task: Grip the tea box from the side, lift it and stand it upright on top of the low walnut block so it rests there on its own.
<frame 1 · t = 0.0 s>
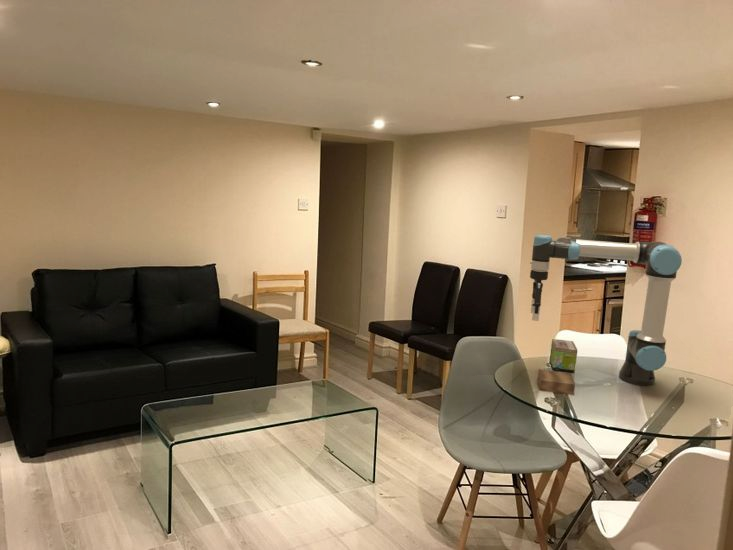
hand: (534, 316, 265), 28 cm above the table, tool pointing down, fingers open, 13 cm apart
tea box: (560, 374, 275), on the table
walnut block: (555, 387, 258), on the table
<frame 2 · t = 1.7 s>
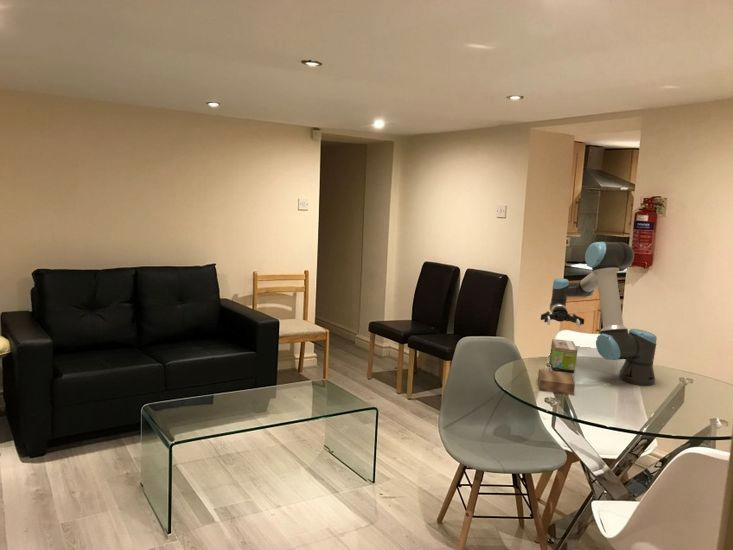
hand: (564, 323, 280), 22 cm above the table, tool horizontal, fingers open, 13 cm apart
nothing on the table moved.
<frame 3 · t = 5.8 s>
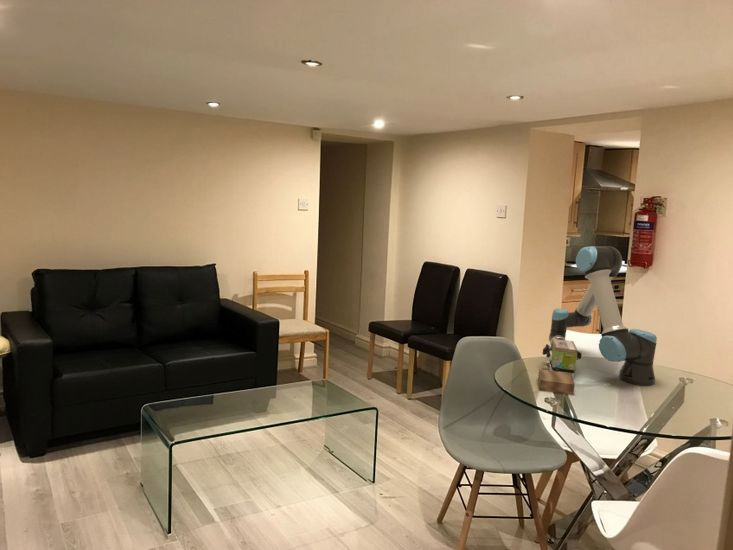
hand: (563, 359, 270), 8 cm above the table, tool horizontal, fingers closed on tea box, 10 cm apart
tea box: (560, 374, 275), on the table, touching gripper
everything else where it was.
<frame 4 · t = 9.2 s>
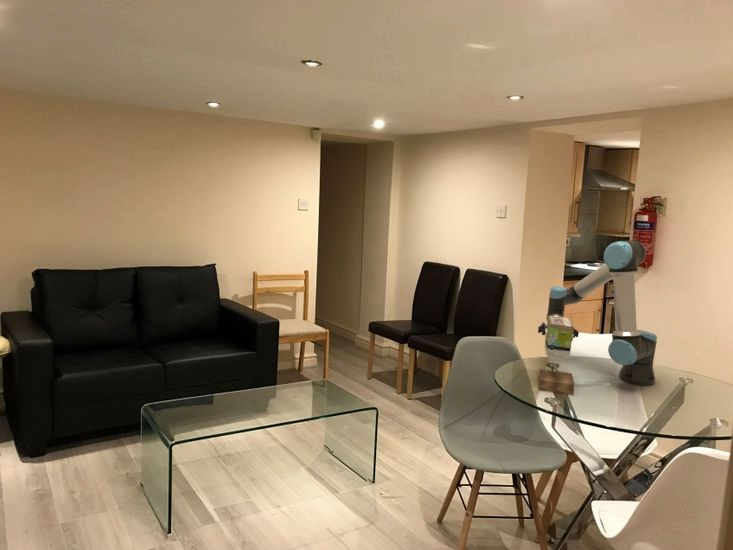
hand: (559, 336, 257), 22 cm above the table, tool horizontal, fingers closed on tea box, 10 cm apart
tea box: (556, 353, 262), point 13 cm above the table, touching gripper
everything else where it was.
when the fingers open (14 cm above the table, at t = 12.4 s): tea box drops 2 cm, resting on walnut block.
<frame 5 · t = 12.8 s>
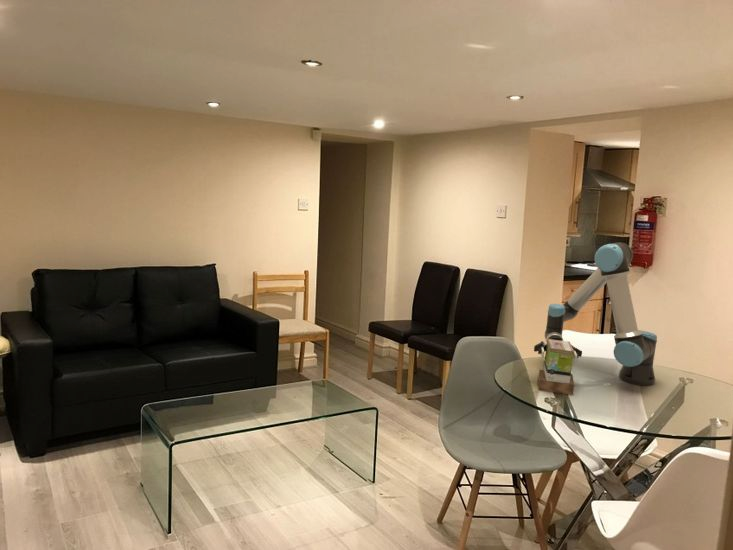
hand: (559, 356, 253), 14 cm above the table, tool horizontal, fingers open, 13 cm apart
tea box: (556, 377, 258), point 4 cm above the table, touching walnut block
walnut block: (555, 387, 258), on the table, touching tea box
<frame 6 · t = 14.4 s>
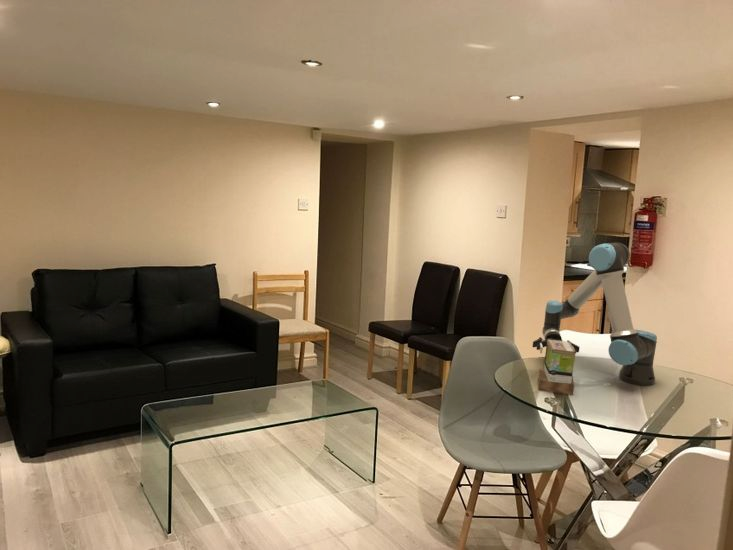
hand: (557, 352, 259), 15 cm above the table, tool horizontal, fingers open, 13 cm apart
nothing on the table moved.
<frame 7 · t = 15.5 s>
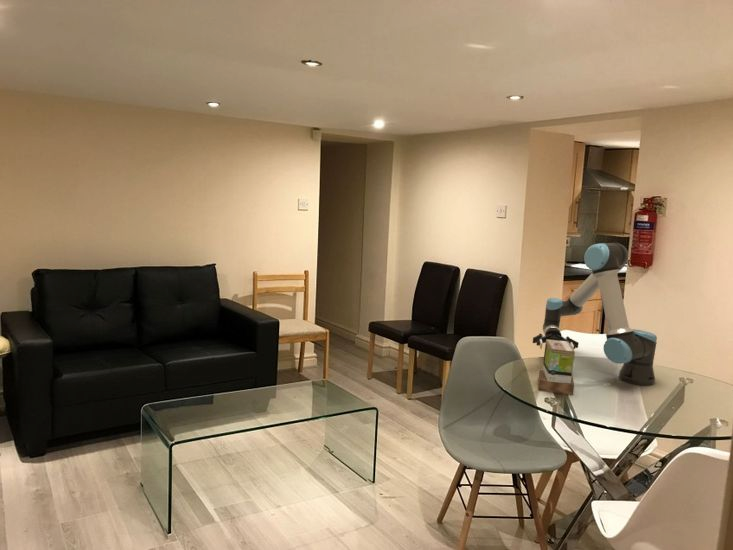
hand: (557, 347, 266), 15 cm above the table, tool horizontal, fingers open, 13 cm apart
nothing on the table moved.
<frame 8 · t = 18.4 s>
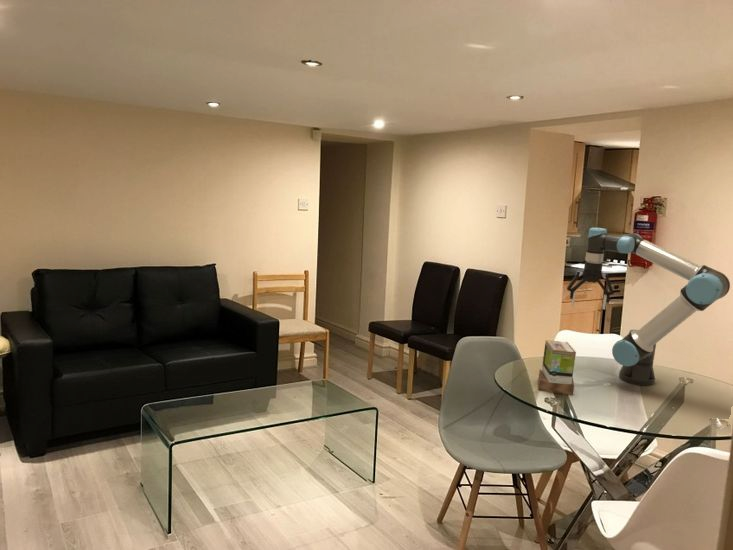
hand: (588, 307, 272), 32 cm above the table, tool pointing down, fingers open, 13 cm apart
nothing on the table moved.
at the end: tea box inside the target area on the walnut block (0.4 cm from its centre), point 4.8 cm above the walnut block's base; tea box tilted 0°; the gripper is holding nothing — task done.
